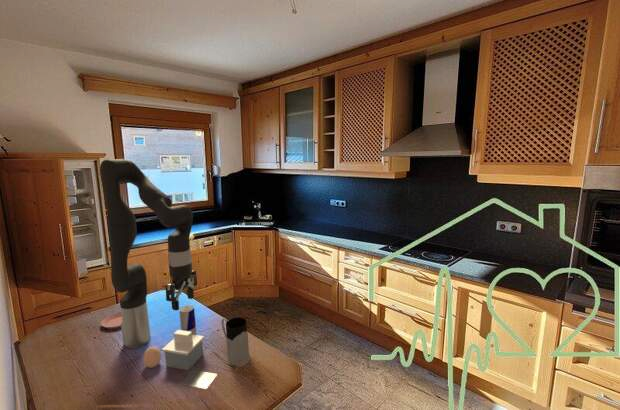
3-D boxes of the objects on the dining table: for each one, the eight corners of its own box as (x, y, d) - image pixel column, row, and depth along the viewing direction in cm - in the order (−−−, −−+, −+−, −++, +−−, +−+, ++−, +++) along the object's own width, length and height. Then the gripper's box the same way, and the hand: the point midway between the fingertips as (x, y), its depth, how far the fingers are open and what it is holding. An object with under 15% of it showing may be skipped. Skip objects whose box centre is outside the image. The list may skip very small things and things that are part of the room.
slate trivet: (180, 385, 103) (180, 383, 103) (192, 371, 109) (192, 369, 109) (206, 390, 100) (206, 389, 100) (217, 375, 107) (217, 374, 107)
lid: (162, 351, 110) (160, 339, 109) (180, 334, 120) (179, 323, 119) (187, 355, 107) (186, 342, 106) (204, 338, 117) (203, 326, 116)
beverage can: (192, 346, 123) (188, 312, 121) (179, 345, 124) (176, 311, 122) (199, 338, 129) (196, 305, 126) (187, 337, 130) (184, 304, 127)
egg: (145, 363, 114) (142, 345, 113) (162, 359, 116) (160, 341, 115) (143, 373, 109) (141, 354, 107) (161, 368, 111) (159, 349, 110)
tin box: (166, 367, 111) (164, 350, 110) (182, 351, 120) (181, 335, 119) (188, 371, 109) (186, 354, 108) (203, 355, 118) (202, 338, 117)
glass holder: (235, 370, 109) (232, 332, 107) (214, 353, 119) (211, 318, 116) (255, 358, 116) (253, 321, 113) (233, 343, 125) (231, 309, 122)
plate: (128, 311, 153) (128, 307, 152) (142, 320, 144) (142, 316, 144) (96, 324, 141) (95, 320, 141) (109, 334, 133) (108, 330, 133)
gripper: (183, 254, 116) (186, 294, 119) (156, 268, 102) (161, 312, 105) (201, 255, 114) (203, 296, 117) (176, 270, 101) (179, 315, 103)
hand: (183, 304), depth 111 cm, fingers open, 8 cm apart
